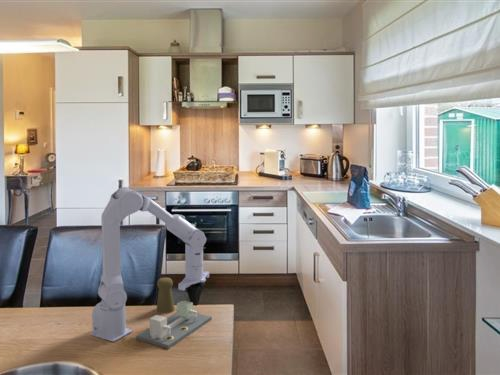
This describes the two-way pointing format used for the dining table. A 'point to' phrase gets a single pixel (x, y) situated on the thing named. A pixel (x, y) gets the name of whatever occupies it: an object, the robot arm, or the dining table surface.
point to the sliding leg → (185, 309)
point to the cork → (165, 296)
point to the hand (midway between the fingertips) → (194, 304)
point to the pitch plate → (171, 329)
